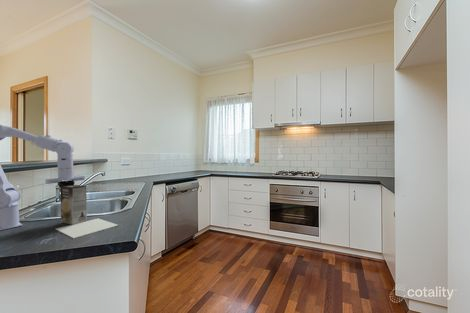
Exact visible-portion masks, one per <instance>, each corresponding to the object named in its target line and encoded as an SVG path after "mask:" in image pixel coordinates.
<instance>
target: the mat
mask: <svg viewBox="0 0 470 313" xmlns="http://www.w3.org/2000/svg"><path fill="white" fill-rule="evenodd" d="M118 226H119V224H117V223H113V222H111V221H107V220H104V219H101V218H94V219H90V220H87V221H84V222H80V223H77V224H73V225H72V224H68V225H66V226H61V227H58V228H55V230H56V231H58V232H59V233H61V234H63V235H65V236H68V237H70V239H71V238H72V239H78V238H81V237H84V236H89V235H91V234H92V235H93V234H95V233H98V232H101V231H106V230H108V229H112V228H115V227H118Z"/></svg>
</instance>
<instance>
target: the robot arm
mask: <svg viewBox="0 0 470 313" xmlns="http://www.w3.org/2000/svg"><path fill="white" fill-rule="evenodd" d="M14 137H15V138H18V139H21V140H25V141H27V142H31V143H34V144H35V145H36V146H37V148H41V149H44V150H46V151H50V152H54V153H57V155H56V156H57V177H55V178H49V179H48V178H46V179H44V180H45V184H46V185H50V184H57V185H58V187H59V188H60V187H63V186H71V185H76V184H75V183H76V182H77V181H85V179H86V178H85V175H80V176H79V175H78V176H74V175H75V174H74V158H73V152H74V146H73V144H71V143H69V142H67V141H66V142H63V141H64V140H62V139H57V138H54V137H52V135H48V134H46V135H45V134H43V135H36V134H33V133H30V132H27V131H24V130H22V129H19V128H16V127H12V126H8V125H3V124H0V141H2V140H4V139H5V138H14ZM20 199H21V192H20V190H18V189H16V188H15V186H14V185H13V184H12V182H11V183H10V182H9V180H8V177H7V176H6V174H5V171H4V170H3V167H2V165H1V164H0V231H3V230H8V229H13V228H17V227H21V226H23V223H21V222H20V211H19V210H20V208H19V203H18V202H19V200H20Z"/></svg>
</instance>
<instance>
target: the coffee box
mask: <svg viewBox="0 0 470 313" xmlns="http://www.w3.org/2000/svg"><path fill="white" fill-rule="evenodd" d="M59 188H60V192H59V193H60V223H63V224H68V225H73V224H77V223H81V222H85V221H88V215H87V214H88V212H87V210H88V209H87V185H82V184H81V185H80V184H79V185H78V184H74V185H71V186H63V187H59Z"/></svg>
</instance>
